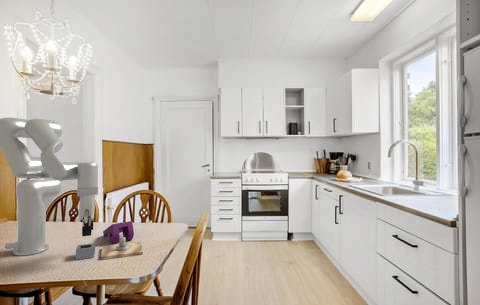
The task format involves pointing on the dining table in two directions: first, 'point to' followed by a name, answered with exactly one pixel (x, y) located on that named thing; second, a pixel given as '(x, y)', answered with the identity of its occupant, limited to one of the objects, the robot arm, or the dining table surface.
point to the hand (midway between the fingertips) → (87, 232)
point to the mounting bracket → (119, 231)
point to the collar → (85, 251)
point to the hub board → (121, 250)
